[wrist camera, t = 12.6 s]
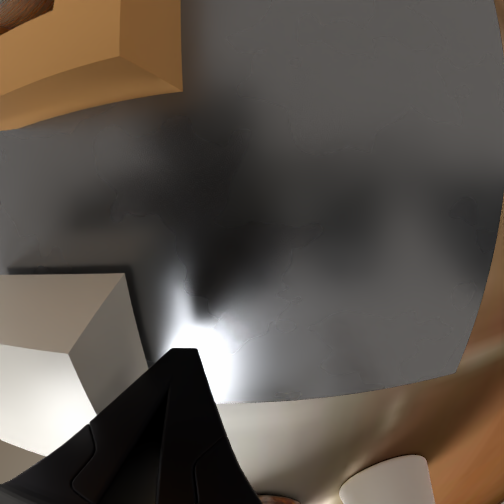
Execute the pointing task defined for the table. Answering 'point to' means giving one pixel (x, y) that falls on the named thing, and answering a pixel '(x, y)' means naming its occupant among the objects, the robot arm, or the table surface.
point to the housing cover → (63, 354)
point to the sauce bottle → (276, 500)
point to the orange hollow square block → (88, 58)
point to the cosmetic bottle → (391, 483)
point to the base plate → (283, 192)
